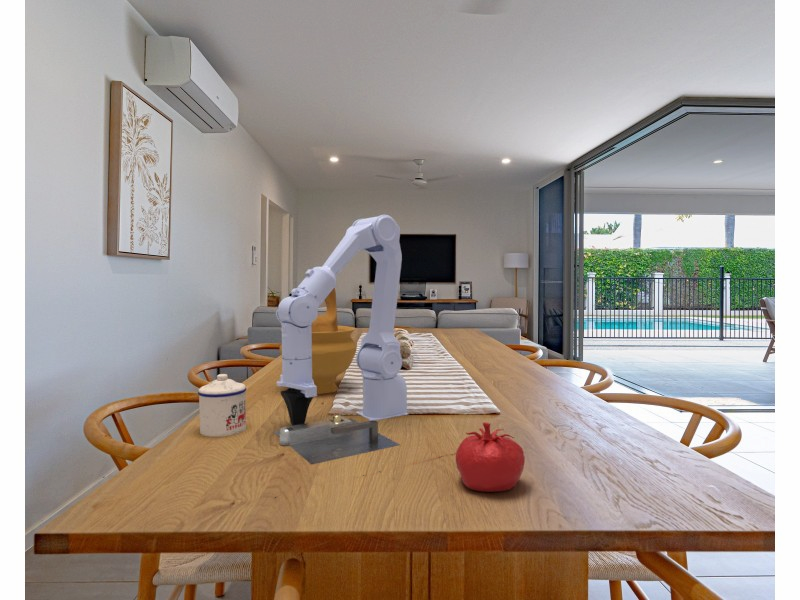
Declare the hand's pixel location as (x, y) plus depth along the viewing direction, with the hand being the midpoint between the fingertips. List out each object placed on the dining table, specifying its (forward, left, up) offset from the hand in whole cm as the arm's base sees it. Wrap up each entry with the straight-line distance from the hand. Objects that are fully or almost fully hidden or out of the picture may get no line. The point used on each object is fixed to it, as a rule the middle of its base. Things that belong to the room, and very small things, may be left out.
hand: (297, 426), depth 95 cm
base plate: (-4, +7, -2) cm, 9 cm away
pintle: (-6, +5, -2) cm, 8 cm away
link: (-1, +6, -1) cm, 6 cm away
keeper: (-6, +13, -2) cm, 15 cm away
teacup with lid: (+11, -11, -2) cm, 15 cm away
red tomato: (-16, +37, -2) cm, 41 cm away
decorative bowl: (-19, -35, -2) cm, 39 cm away
